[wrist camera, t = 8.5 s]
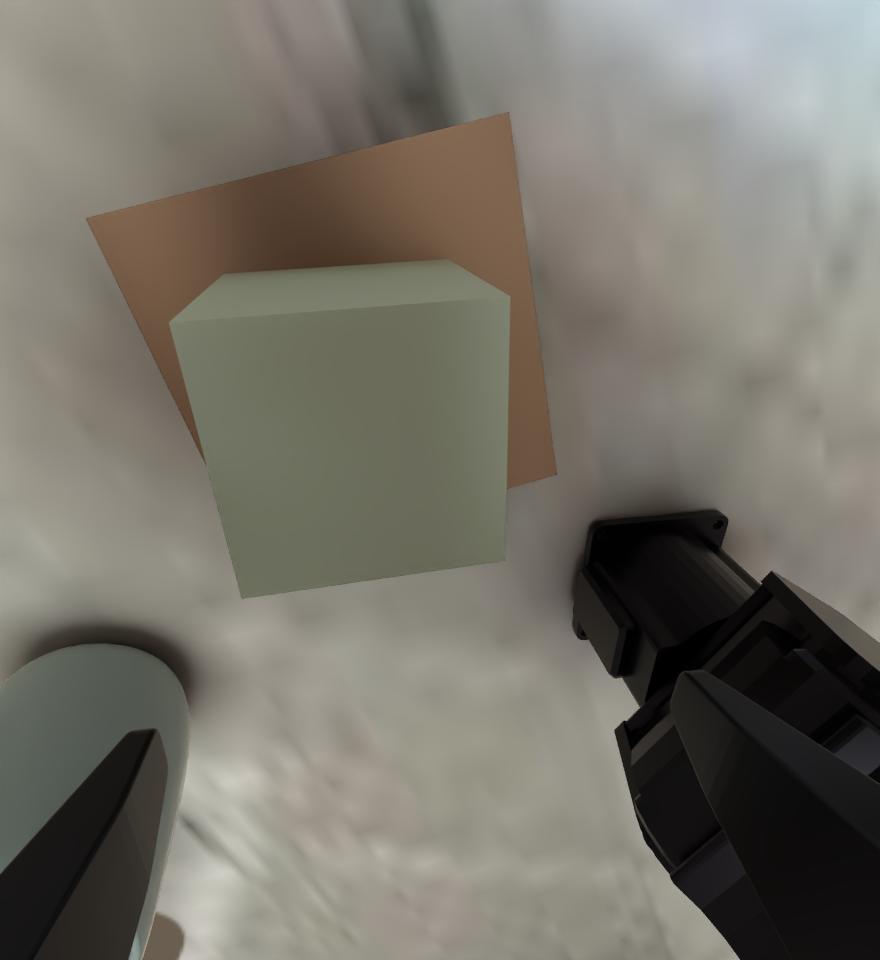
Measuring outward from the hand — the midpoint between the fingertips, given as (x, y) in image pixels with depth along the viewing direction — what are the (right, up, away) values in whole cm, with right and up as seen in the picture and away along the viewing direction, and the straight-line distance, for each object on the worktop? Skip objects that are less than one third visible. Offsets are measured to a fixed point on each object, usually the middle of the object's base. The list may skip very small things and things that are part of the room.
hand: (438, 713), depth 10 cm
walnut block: (-3, +9, +9) cm, 14 cm away
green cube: (-2, +7, +4) cm, 8 cm away
